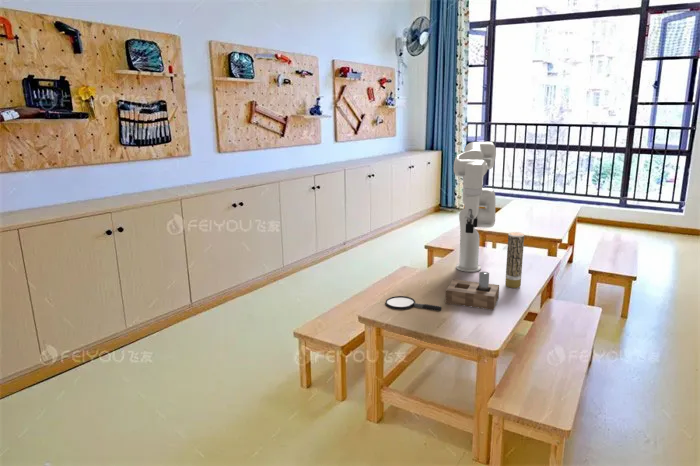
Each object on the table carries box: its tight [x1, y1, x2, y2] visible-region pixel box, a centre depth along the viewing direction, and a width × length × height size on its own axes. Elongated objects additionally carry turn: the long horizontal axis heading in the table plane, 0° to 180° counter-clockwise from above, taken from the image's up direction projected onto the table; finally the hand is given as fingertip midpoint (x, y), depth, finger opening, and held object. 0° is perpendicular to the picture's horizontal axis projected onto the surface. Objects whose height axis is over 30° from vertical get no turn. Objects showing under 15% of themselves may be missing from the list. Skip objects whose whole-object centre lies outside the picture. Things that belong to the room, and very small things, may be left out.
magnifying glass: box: [385, 295, 443, 312], centre depth 205 cm, size 12×24×2 cm, turn 64°
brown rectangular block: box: [445, 278, 500, 311], centre depth 209 cm, size 14×20×6 cm
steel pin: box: [478, 271, 490, 292], centre depth 206 cm, size 4×4×12 cm
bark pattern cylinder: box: [504, 231, 525, 289], centre depth 222 cm, size 7×7×25 cm
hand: (471, 229), depth 213 cm, fingers open, 9 cm apart
